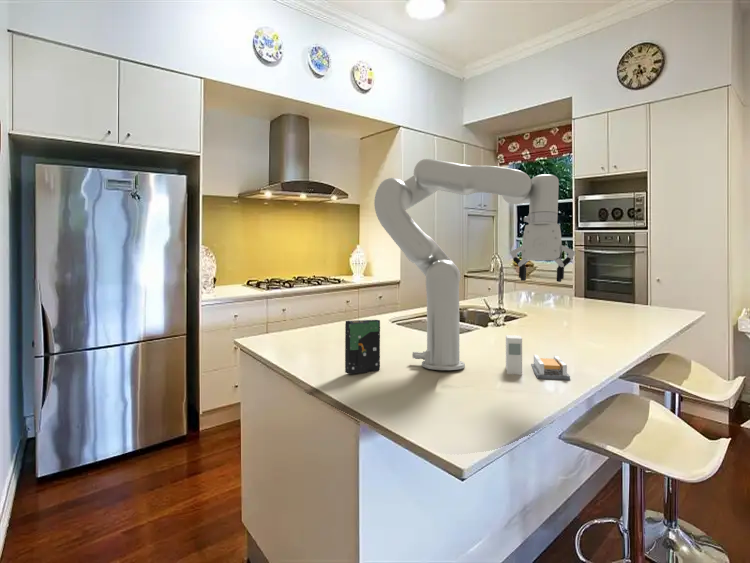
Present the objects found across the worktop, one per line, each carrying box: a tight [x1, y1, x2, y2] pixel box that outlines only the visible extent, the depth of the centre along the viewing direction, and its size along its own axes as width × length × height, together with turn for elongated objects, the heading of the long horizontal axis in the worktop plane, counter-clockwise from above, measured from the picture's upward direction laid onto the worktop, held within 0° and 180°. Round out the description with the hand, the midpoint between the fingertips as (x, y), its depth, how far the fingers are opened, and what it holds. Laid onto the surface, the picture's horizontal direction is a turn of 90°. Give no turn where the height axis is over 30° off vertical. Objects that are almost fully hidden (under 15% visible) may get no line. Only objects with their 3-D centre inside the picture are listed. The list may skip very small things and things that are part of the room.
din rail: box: [530, 354, 571, 381], centre depth 124 cm, size 8×16×4 cm, turn 166°
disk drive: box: [344, 319, 381, 375], centre depth 126 cm, size 10×3×15 cm, turn 120°
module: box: [505, 334, 523, 376], centre depth 126 cm, size 4×7×10 cm, turn 166°
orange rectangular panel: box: [539, 357, 560, 370], centre depth 124 cm, size 4×11×1 cm, turn 166°
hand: (540, 281), depth 124 cm, fingers open, 9 cm apart
